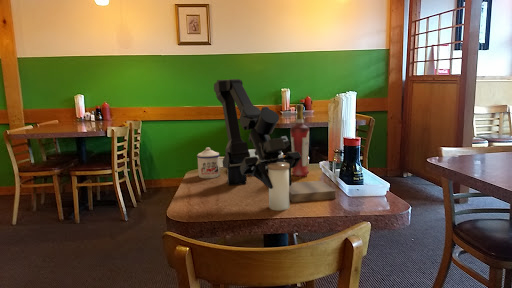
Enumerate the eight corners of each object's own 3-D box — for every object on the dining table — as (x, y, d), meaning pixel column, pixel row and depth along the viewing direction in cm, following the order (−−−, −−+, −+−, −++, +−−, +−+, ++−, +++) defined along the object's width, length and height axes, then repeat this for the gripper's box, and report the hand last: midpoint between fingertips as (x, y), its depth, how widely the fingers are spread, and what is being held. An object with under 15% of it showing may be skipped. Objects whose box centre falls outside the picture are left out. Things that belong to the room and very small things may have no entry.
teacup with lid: (199, 179, 145) (198, 150, 143) (196, 174, 153) (195, 146, 151) (229, 176, 148) (228, 148, 146) (225, 171, 157) (223, 144, 155)
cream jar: (271, 211, 106) (270, 167, 104) (266, 204, 112) (265, 162, 110) (292, 209, 107) (292, 165, 105) (287, 202, 113) (286, 161, 111)
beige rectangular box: (292, 202, 114) (292, 194, 113) (282, 190, 126) (282, 183, 126) (335, 198, 116) (335, 190, 116) (321, 187, 129) (321, 180, 128)
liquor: (293, 172, 151) (292, 104, 147) (311, 173, 149) (311, 104, 144) (288, 177, 144) (287, 105, 140) (307, 178, 142) (306, 105, 137)
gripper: (242, 130, 105) (260, 175, 97) (297, 125, 113) (319, 167, 105) (232, 153, 114) (249, 197, 106) (285, 147, 122) (304, 187, 114)
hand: (281, 186), depth 107 cm, fingers closed on cream jar, 6 cm apart
